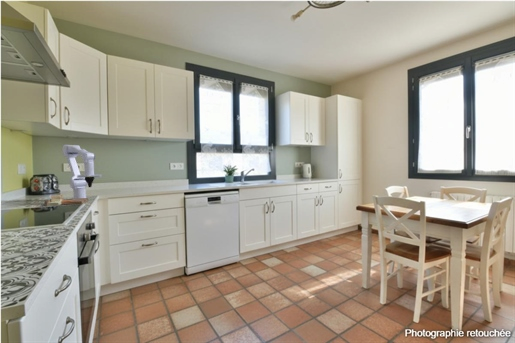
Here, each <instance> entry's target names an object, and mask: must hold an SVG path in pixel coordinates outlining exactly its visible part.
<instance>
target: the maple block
mask: <svg viewBox="0 0 515 343" xmlns="http://www.w3.org/2000/svg"><path fill="white" fill-rule="evenodd" d="M50 199H51V202H60V201H63V199H64V194H54V195H51V197H50Z"/></svg>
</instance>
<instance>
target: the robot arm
mask: <svg viewBox="0 0 515 343" xmlns="http://www.w3.org/2000/svg"><path fill="white" fill-rule="evenodd" d="M61 151H62V153H63V155H64V158H66V159H67V163H68V166H69V169H70V172H71V175H72V177H71V178H70V179H69V187H70V188H72V193H73V194H72V196H73V197H72V198H73V199H71V200H75V199H77V198H88V197H87V190H86V187H88V188H92V185H93V183H94V180H95V178H102V174H95V163H94V161H95V159H96V154H95V153H94V152H90V151H89V150H88V151H87V150H86V149H85V148H81V146H80V145H79V144H77V145H76V144H73V145H72V144H63V146H62V150H61ZM78 156H79V157H81V158H82V162H83V167H84V169H83V170H84V174H81V171H80V169H79V166H78V162H77V161H76V158H77V157H78Z"/></svg>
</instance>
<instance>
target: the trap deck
mask: <svg viewBox="0 0 515 343" xmlns="http://www.w3.org/2000/svg"><path fill="white" fill-rule="evenodd" d="M88 201H89V197H87V198H77V199H75V200H72V199H67V198H63V201H60V202H51V198H50V199H47V200H44V206H45V207H57V206H58V207H59V206H60V207H61V206H73V205H75V206H76V205H83V204H85V203H86V202H88Z"/></svg>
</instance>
